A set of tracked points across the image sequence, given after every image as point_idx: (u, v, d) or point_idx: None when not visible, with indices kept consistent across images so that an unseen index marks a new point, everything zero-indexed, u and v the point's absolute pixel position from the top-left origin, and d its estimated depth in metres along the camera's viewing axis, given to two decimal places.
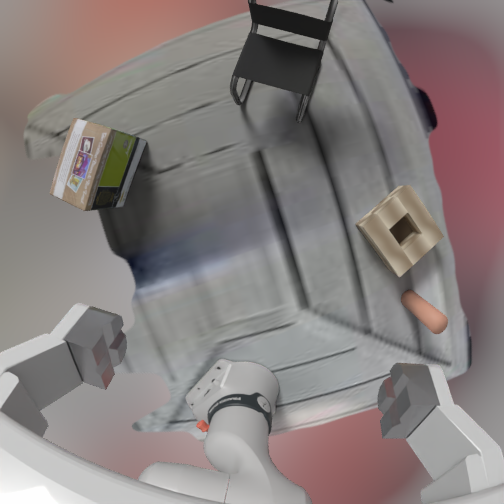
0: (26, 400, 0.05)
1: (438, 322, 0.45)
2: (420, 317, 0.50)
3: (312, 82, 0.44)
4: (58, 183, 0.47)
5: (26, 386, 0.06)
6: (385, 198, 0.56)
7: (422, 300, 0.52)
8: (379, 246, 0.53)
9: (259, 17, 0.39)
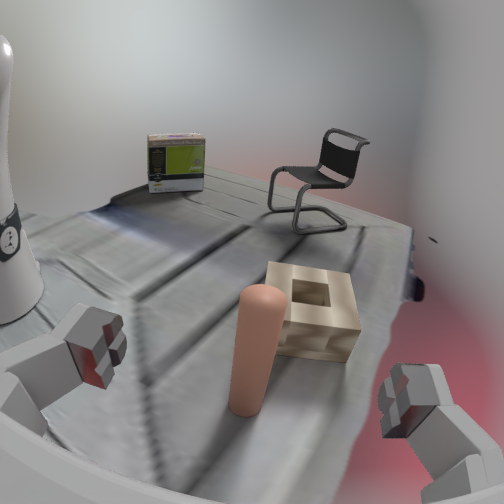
0: (26, 400, 0.05)
1: (265, 295, 0.24)
2: None
3: (321, 184, 0.63)
4: (156, 134, 0.79)
5: (26, 386, 0.06)
6: None
7: None
8: (267, 280, 0.41)
9: (323, 154, 0.72)
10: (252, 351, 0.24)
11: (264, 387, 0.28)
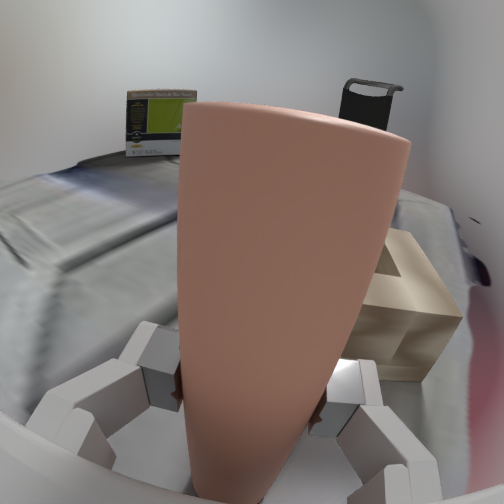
0: (100, 436, 0.05)
1: (301, 113, 0.05)
2: None
3: None
4: None
5: None
6: None
7: None
8: None
9: (344, 107, 0.54)
10: (241, 382, 0.05)
11: (279, 469, 0.08)
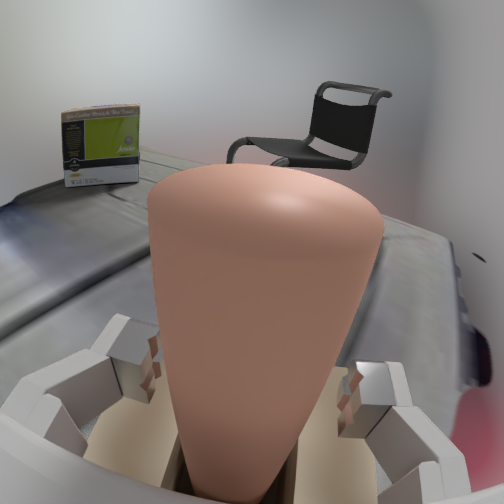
0: (69, 423, 0.05)
1: (273, 187, 0.05)
2: None
3: (309, 160, 0.34)
4: None
5: (65, 406, 0.06)
6: None
7: None
8: None
9: (316, 120, 0.44)
10: (221, 433, 0.05)
11: (269, 484, 0.09)
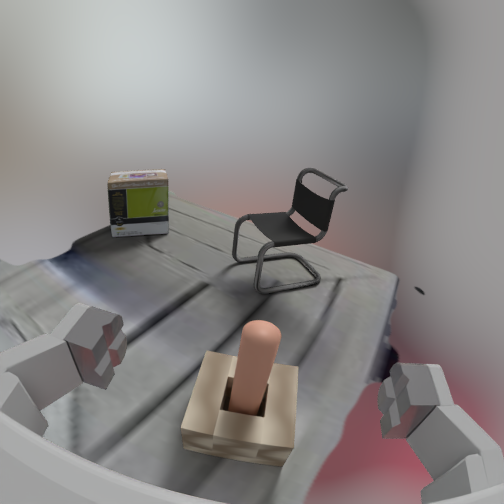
0: (26, 400, 0.05)
1: (263, 330, 0.29)
2: None
3: (287, 241, 0.57)
4: (119, 172, 0.73)
5: (26, 386, 0.06)
6: None
7: None
8: (199, 378, 0.35)
9: (296, 198, 0.67)
10: (250, 374, 0.29)
11: (258, 402, 0.32)
